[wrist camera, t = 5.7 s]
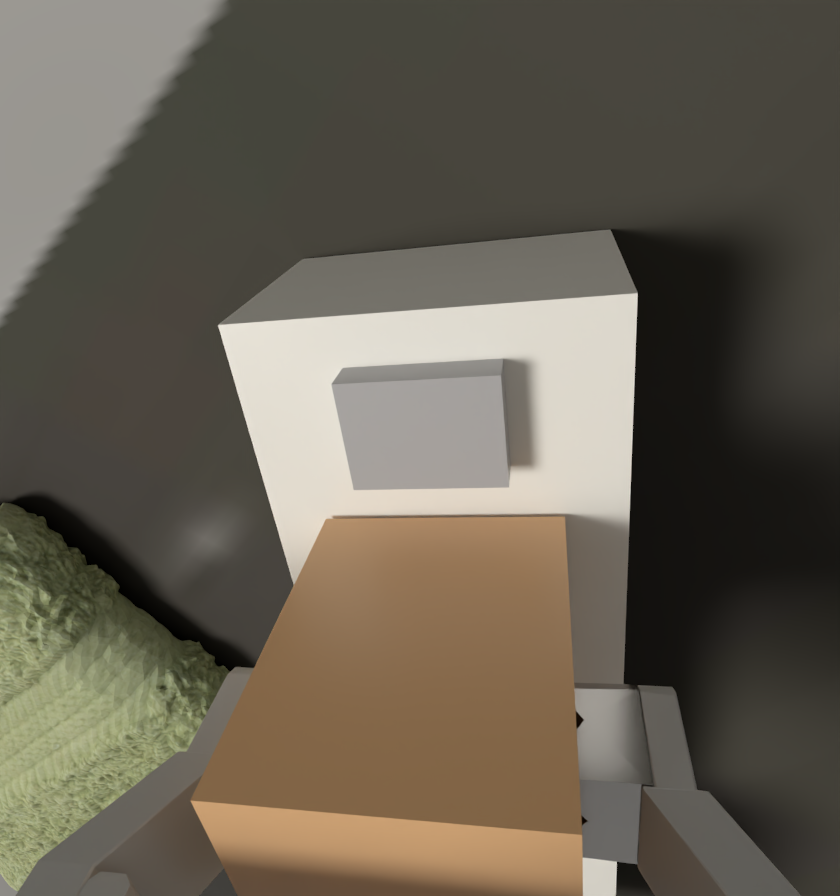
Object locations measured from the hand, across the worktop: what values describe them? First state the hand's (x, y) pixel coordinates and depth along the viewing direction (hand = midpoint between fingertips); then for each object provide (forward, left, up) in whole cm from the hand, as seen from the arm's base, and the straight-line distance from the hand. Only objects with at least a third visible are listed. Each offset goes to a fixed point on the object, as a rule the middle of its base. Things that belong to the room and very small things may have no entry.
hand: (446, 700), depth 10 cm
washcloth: (-9, +16, -6) cm, 20 cm away
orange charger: (0, 0, -4) cm, 4 cm away
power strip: (-5, 0, -6) cm, 8 cm away
